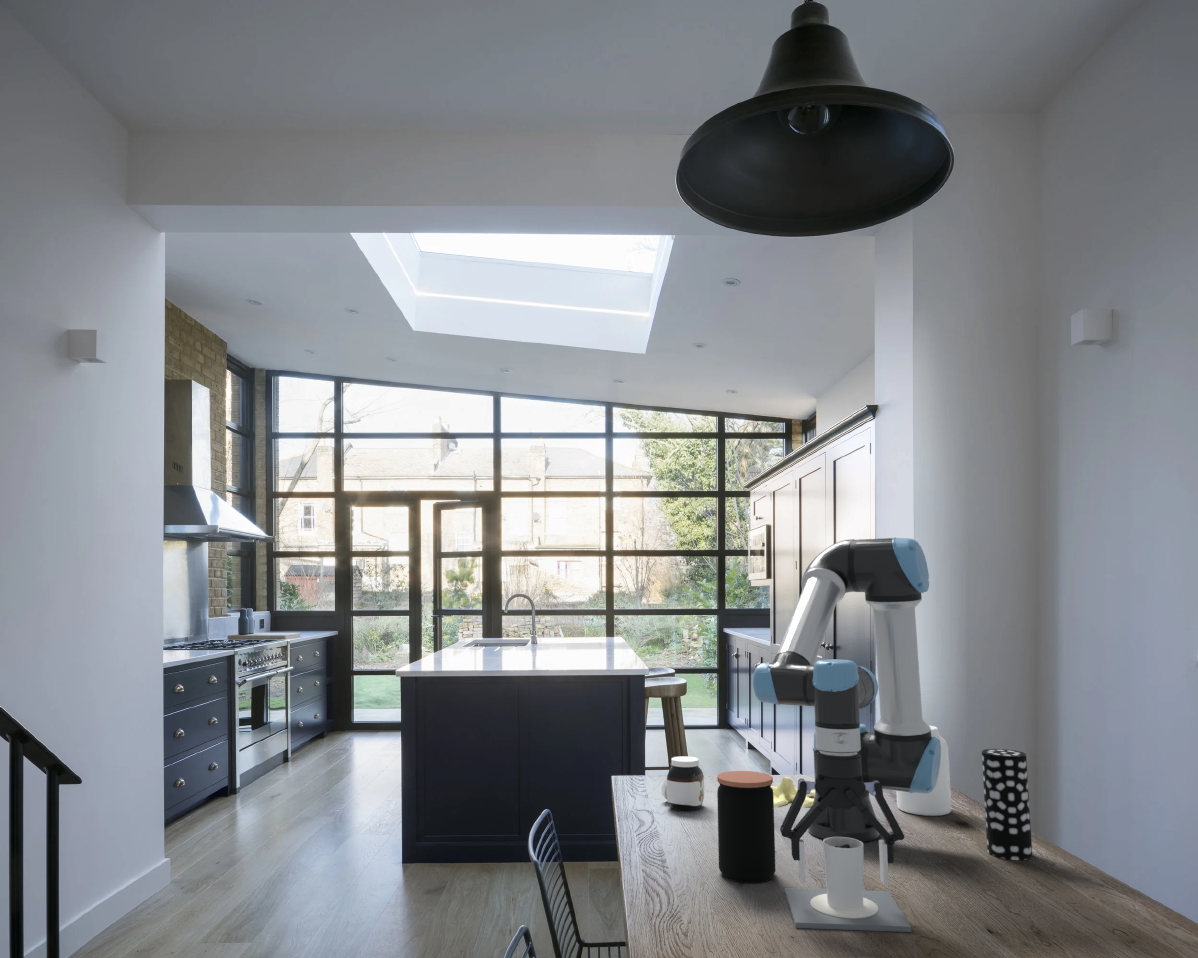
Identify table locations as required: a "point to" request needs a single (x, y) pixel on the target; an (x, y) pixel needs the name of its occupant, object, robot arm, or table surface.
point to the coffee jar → (746, 826)
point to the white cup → (844, 873)
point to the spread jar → (684, 784)
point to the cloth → (789, 794)
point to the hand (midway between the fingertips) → (843, 881)
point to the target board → (845, 912)
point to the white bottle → (939, 796)
